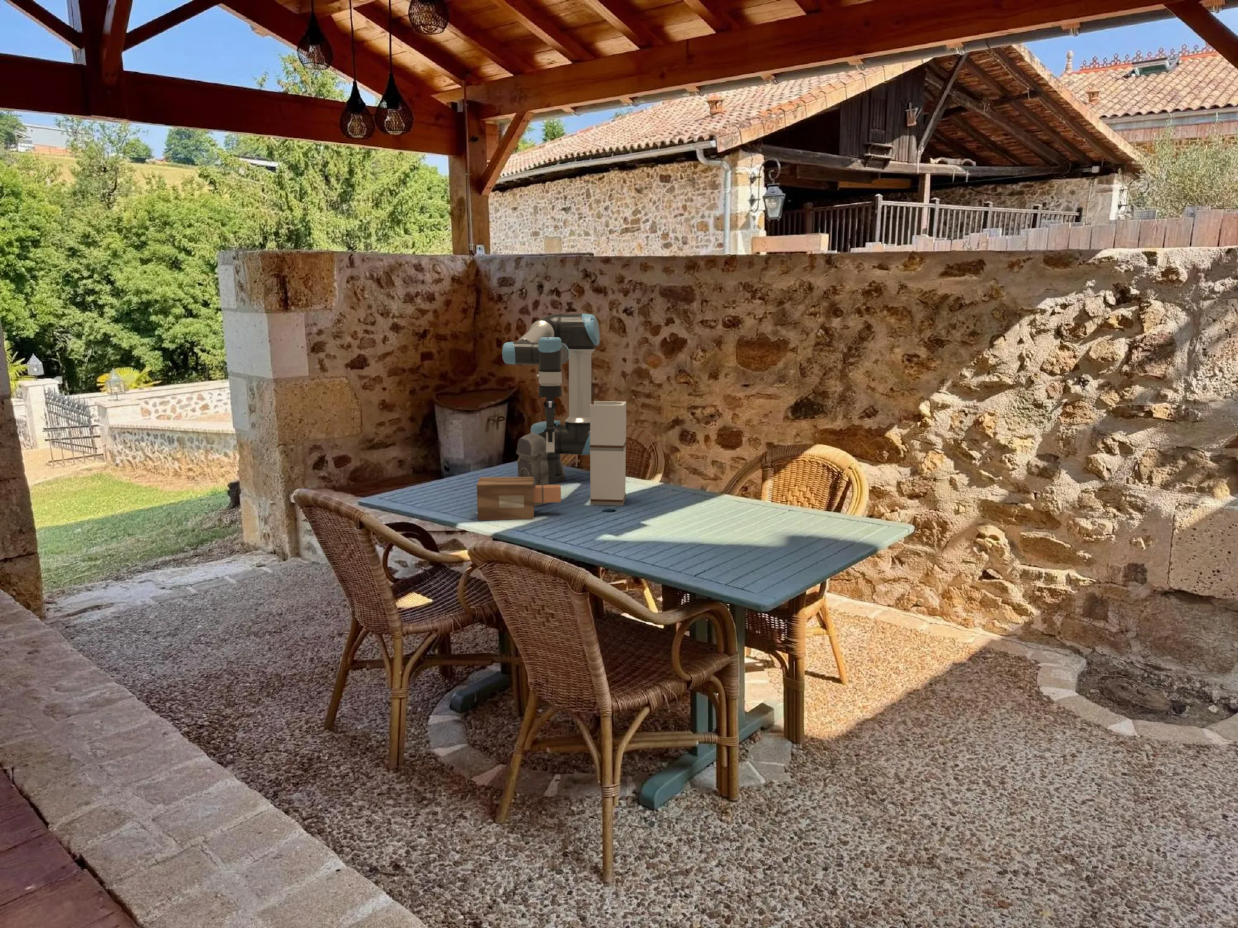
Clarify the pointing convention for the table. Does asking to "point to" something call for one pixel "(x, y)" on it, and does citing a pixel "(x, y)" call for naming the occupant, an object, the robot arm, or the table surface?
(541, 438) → the grey backpack
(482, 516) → the box
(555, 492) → the orange banded bar
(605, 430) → the beige square tower
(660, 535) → the table surface
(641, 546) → the table surface
